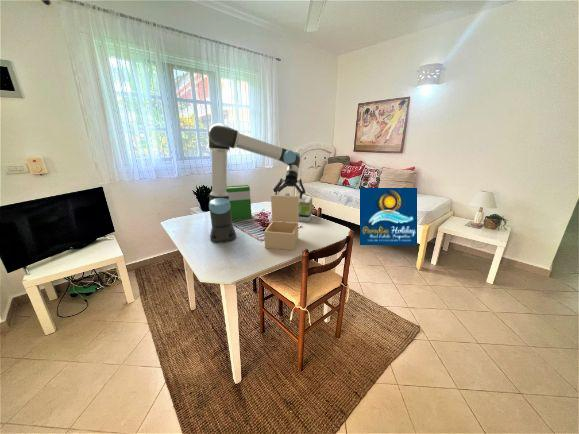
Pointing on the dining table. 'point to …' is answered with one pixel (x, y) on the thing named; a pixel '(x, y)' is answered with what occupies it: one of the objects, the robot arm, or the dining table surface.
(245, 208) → the green cereal box
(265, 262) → the dining table surface
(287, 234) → the carton
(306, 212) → the tea box
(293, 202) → the carton lid
